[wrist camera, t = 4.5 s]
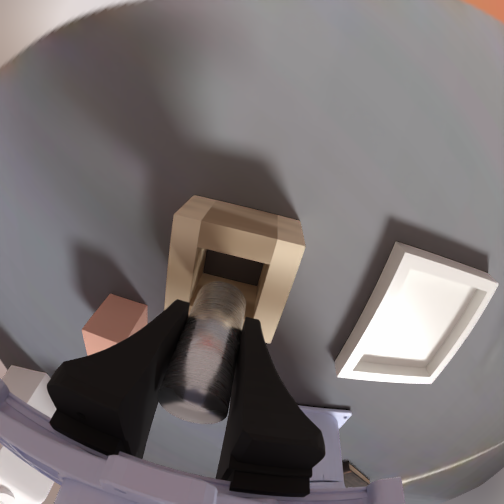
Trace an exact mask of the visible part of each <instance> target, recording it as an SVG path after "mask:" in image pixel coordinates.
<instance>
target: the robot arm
mask: <svg viewBox="0 0 504 504" xmlns="http://www.w3.org/2000/svg"><path fill="white" fill-rule="evenodd" d="M189 306H190V302H186V301H182V300H179V299H177V300H175V301H174V302H173V303H172V304H171V305H170V306H169V307H168V308H167V309H165V310H164V311H163V312H162V313H161V314H160V315H159V316H157V317H156V318H155V319H154V320H152V321H151V322H150V323H149V324H147V325H146V326H144V327H143V328H142V329H140V330H139V331H137V332H136V333H134V334H133V335H131V336H130V337H128V338H126V339H125V340H123V341H121V342H119V343H117V344H115V345H113V346H111V347H109V348H107V349H105V350H102V351H100V352H97V353H94V354H91V355H89V356H85V357H82V358H78V359H74V360H70V361H65V362H63V363H62V364H61V365H60V367H59V368H58V369H57V370H56V371H55V373H54V374H53V376H52V377H51V379H50V380H49V382H48V383H47V391H48V394H49V396H50V398H51V400H52V402H53V403H54V405H55V407H56V411H55V413H54V414H53V416H52V418H50V417H48V416H47V415H45V414H43V413H41V412H40V411H38V410H37V409H35V408H33V407H32V406H30V405H29V404H27V403H26V402H24V401H23V400H21V399H20V398H18V397H17V396H15V395H14V394H12V393H11V392H9V389H8V387H7V385H6V384H5V383H4V382H3V380H1V379H0V443H1V444H2V445H3V446H4V447H6V448H7V449H8V450H9V451H11V452H12V453H13V454H15V455H16V456H17V457H19V458H20V459H21V460H23V461H24V462H25V463H27V464H28V465H30V466H31V467H33V468H34V469H35V470H37V471H38V472H40V473H41V474H43V475H45V476H46V477H48V478H49V479H51V480H53V481H54V482H56V483H58V484H59V485H61V488H60V490H59V492H58V494H57V497H56V500H55V502H54V504H406V503H405V497H404V491H403V486H402V480H401V477H395V478H387V479H380V480H376V481H374V482H372V483H370V484H369V485H368V486H364V487H348V488H346V487H345V484H344V477H343V465H342V455H341V446H340V437H339V428H340V427H341V426H342V425H343V424H344V423H345V422H346V421H347V420H348V418H349V417H350V416H351V415H352V411H350V410H339V409H327V408H317V407H308V406H300V405H297V403H296V402H295V401H294V399H293V398H292V397H291V395H290V394H289V392H288V391H287V389H286V388H285V386H284V384H283V382H282V381H281V379H280V377H279V375H278V373H277V371H276V369H275V367H274V364H273V362H272V360H271V357H270V355H269V352H268V349H267V346H266V343H265V340H264V336H263V333H262V328H261V322H260V321H259V320H258V319H254V318H250V317H246V318H245V321H244V325H243V328H242V332H241V338H240V344H239V350H238V356H237V362H236V368H235V374H234V379H233V385H232V391H231V399H230V409H229V415H228V421H227V426H226V431H225V436H224V441H223V446H222V451H221V456H220V461H219V465H218V470H217V475H216V479H214V478H209V477H205V476H200V475H196V474H191V473H187V472H183V471H180V470H176V469H172V468H169V467H165V466H162V465H159V464H155V463H152V462H149V461H146V460H143V459H142V458H143V454H144V450H145V446H146V442H147V439H148V435H149V431H150V428H151V424H152V421H153V418H154V414H155V411H156V408H157V405H158V402H159V401H158V398H157V395H158V392H159V389H160V386H161V384H162V381H163V379H164V376H165V373H166V371H167V368H168V366H169V363H170V361H171V358H172V356H173V353H174V351H175V348H176V346H177V343H178V341H179V338H180V336H181V333H182V331H183V328H184V326H185V323H186V321H187V318H188V313H189Z"/></svg>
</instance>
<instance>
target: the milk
mask: <svg viewBox="0 0 504 504" xmlns="http://www.w3.org/2000/svg"><path fill="white" fill-rule="evenodd" d="M50 379H51V378H50V377H49V376H48V374H47V373H44V372H39V371H34V370H30V369H26V368H22V367H18V366H14V365H11V366H10V367H9V369H8V370H7V372H6V374H5V375H4V376H3V378H2V380H3V382H4V383H5V384H6V385H7V387H8V389H9V392H11V393H12V394H14V395H15V396H17V397H18V398H20V399H21V400H23V401H24V402H26V403H27V404H29V405H30V406H32V407H33V408H35V409H37V410H38V411H40V412H41V413H43V414H45V415H47V416H48V417H50V418H52V416H53V414H54V413H55V411H56V407H55V405H54V403H53V402H52V400H51V398H50V396H49V394H48V391H47V383H48V382H49V380H50ZM53 484H54V481H53V480H51V479H49V478H48V477H46V476H45V475H43V474H41V473H40V472H38V471H37V470H35V469H34V468H33V467H31V466H30V465H28V464H27V463H25V462H24V461H23V460H21V459H20V458H19V457H17V456H16V455H15V454H13V453H12V452H11V451H9V450H8V449H7V448H6V447H4V446H3V445H2V444H1V443H0V504H41V503H42V502H43V501H44V500H45V499H46V497H47V495H48V493H49V491H50V489H51V487H52V485H53Z"/></svg>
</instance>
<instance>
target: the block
mask: <svg viewBox="0 0 504 504" xmlns="http://www.w3.org/2000/svg"><path fill="white" fill-rule="evenodd" d="M146 325H147V305H145V304H141V303H138V302H135V301H132V300H128V299H125V298H122V297H119V296H116V295H113V294H109V296H108V297H107V298H106V299H105V300H104V302H103V303H102V304H101V305H100V307H99V308H98V309H97V310H96V312H95V313H94V314H93V315H92V317H91V318H90V319H89V321H88V322H87V323H86V324H85V326H84V327H83V328H82V333H83V337H84V342H85V346H86V351H87V355H88V356H89V355H91V354H94V353H97V352H100V351H102V350H105V349H107V348H109V347H111V346H113V345H115V344H117V343H119V342H121V341H123V340H125V339H126V338H128V337H130V336H131V335H133V334H134V333H136V332H137V331H139V330H140V329H142V328H143V327H144V326H146Z"/></svg>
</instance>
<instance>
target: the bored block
mask: <svg viewBox="0 0 504 504" xmlns="http://www.w3.org/2000/svg"><path fill="white" fill-rule="evenodd" d="M305 247H306V246H305V241H304V236H303V232H302V227H301V223H300V221H299V220H295V219H291V218H287V217H283V216H280V215H276V214H272V213H268V212H264V211H260V210H256V209H252V208H248V207H243V206H239V205H235V204H231V203H227V202H222V201H218V200H214V199H209V198H205V197H201V196H196V195H194V196H193V197H191V198H190V199H189V200H188V201H187V202H186V203H185V204H184V205H183V206H182V207H181V208H180V209H179V210H178V211H177V212H176V213H175V214H174V217H173V224H172V232H171V241H170V250H169V259H168V270H167V281H166V293H165V307H164V310H165V309H167V308H168V307H169V306H170V305H171V304H172V303H173V302H174V301H175V300H177V299H179V300H182V301H186V302H190V306H189V313H188V316H189V314H190V311H191V309H192V306H193V304H194V302H195V299H196V297H197V294H198V292H199V290H200V289H201V288H202V287H203V286H204V285H206V284H208V283H210V282H215V281H221V282H226V283H229V284H232V285H234V286H235V287H237V288H238V289H239V290H240V291H241V292H242V293H243V295H244V297H245V299H246V309H245V315H244V321H245V318H246V317H250V318H254V319H258V320H259V321H260V322H261V328H262V333H263V336H264V340H265V343H271V341H272V338H273V336H274V333H275V330H276V328H277V325H278V323H279V320H280V317H281V315H282V312H283V309H284V306H285V304H286V301H287V298H288V295H289V293H290V290H291V287H292V284H293V282H294V279H295V276H296V273H297V270H298V267H299V264H300V262H301V259H302V256H303V253H304V250H305ZM207 249H209V250H213V251H217V252H221V253H225V254H229V255H233V256H237V257H241V258H245V259H249V260H253V261H257V262H261V263H264V265H263V268H262V272H261V275H260V278H259V282H258V285H257V286H254V285H250V284H246V283H242V282H237V281H233V280H229V279H225V278H221V277H217V276H213V275H209V274H205V273H203V270H204V264H205V258H206V253H207ZM244 321H243V325H244ZM242 328H243V327H242Z"/></svg>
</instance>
